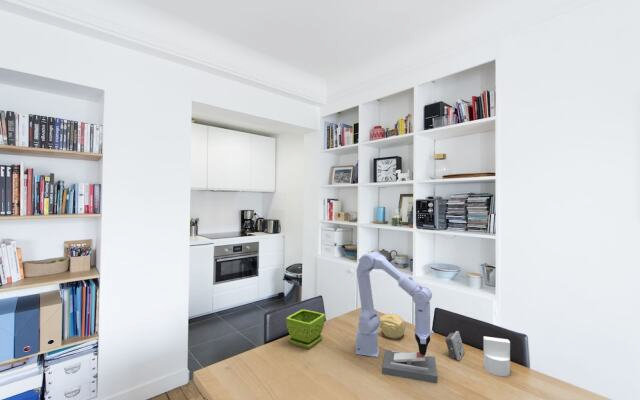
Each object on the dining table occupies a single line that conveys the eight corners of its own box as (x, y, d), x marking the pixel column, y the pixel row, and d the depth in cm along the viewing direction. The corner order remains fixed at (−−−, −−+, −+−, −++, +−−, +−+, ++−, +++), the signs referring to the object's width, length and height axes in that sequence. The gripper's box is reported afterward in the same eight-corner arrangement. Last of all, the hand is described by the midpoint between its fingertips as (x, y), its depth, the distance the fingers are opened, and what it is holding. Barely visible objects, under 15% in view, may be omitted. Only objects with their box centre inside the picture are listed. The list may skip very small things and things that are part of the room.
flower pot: (326, 340, 143) (326, 313, 142) (309, 353, 131) (309, 324, 131) (302, 333, 150) (302, 308, 150) (284, 344, 138) (284, 317, 138)
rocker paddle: (394, 362, 118) (393, 359, 118) (394, 355, 123) (394, 352, 123) (425, 360, 115) (424, 357, 115) (424, 354, 119) (424, 351, 120)
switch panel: (382, 373, 115) (382, 361, 115) (385, 355, 128) (385, 344, 128) (437, 383, 109) (437, 370, 109) (434, 362, 123) (434, 351, 123)
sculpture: (377, 337, 145) (377, 315, 145) (386, 328, 155) (386, 307, 155) (400, 343, 139) (400, 320, 139) (408, 334, 149) (408, 312, 149)
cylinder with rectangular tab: (506, 365, 120) (506, 336, 120) (512, 378, 112) (512, 346, 112) (481, 361, 123) (481, 333, 123) (485, 373, 115) (485, 343, 115)
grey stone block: (459, 362, 123) (457, 339, 124) (446, 359, 126) (444, 336, 127) (465, 352, 131) (462, 331, 131) (452, 350, 134) (450, 329, 134)
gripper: (434, 328, 109) (434, 365, 109) (432, 313, 123) (432, 346, 123) (414, 325, 111) (414, 362, 111) (414, 311, 125) (414, 343, 125)
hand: (422, 353), depth 117 cm, fingers closed
